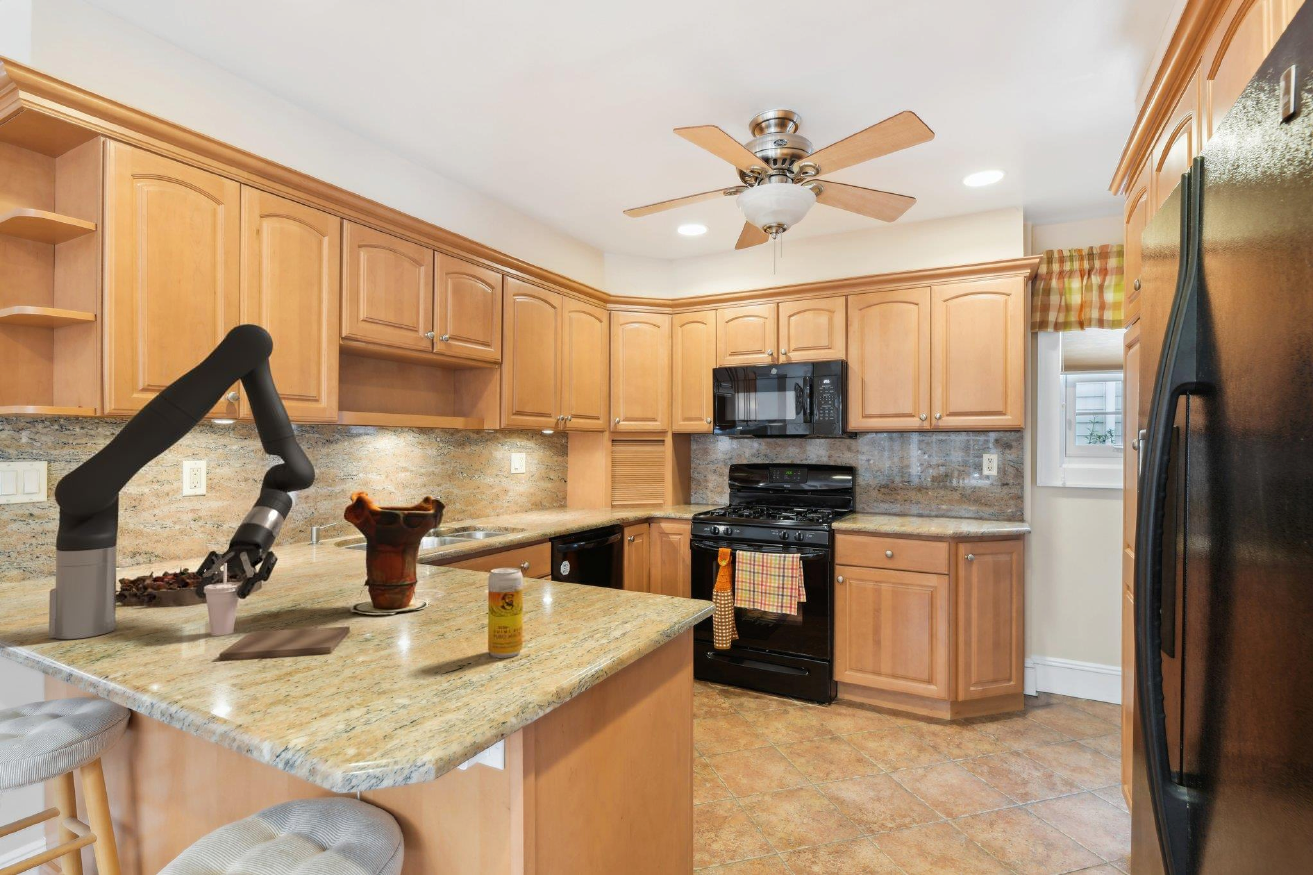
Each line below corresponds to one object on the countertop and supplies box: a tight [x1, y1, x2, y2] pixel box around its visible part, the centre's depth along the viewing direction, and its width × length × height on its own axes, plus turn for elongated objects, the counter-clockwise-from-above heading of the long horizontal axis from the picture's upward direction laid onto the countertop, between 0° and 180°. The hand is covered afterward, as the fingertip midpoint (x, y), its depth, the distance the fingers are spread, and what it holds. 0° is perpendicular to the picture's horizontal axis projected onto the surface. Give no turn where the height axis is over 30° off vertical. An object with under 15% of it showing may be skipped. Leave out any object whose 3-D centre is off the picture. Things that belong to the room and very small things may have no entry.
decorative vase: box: [343, 490, 446, 615], centre depth 153 cm, size 20×22×27 cm
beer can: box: [487, 567, 524, 659], centre depth 118 cm, size 6×6×15 cm
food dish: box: [116, 566, 263, 608], centre depth 169 cm, size 35×33×8 cm
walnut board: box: [218, 626, 351, 661], centre depth 123 cm, size 18×14×1 cm
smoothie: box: [204, 563, 241, 637], centre depth 131 cm, size 6×6×14 cm
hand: (219, 596), depth 130 cm, fingers open, 8 cm apart
